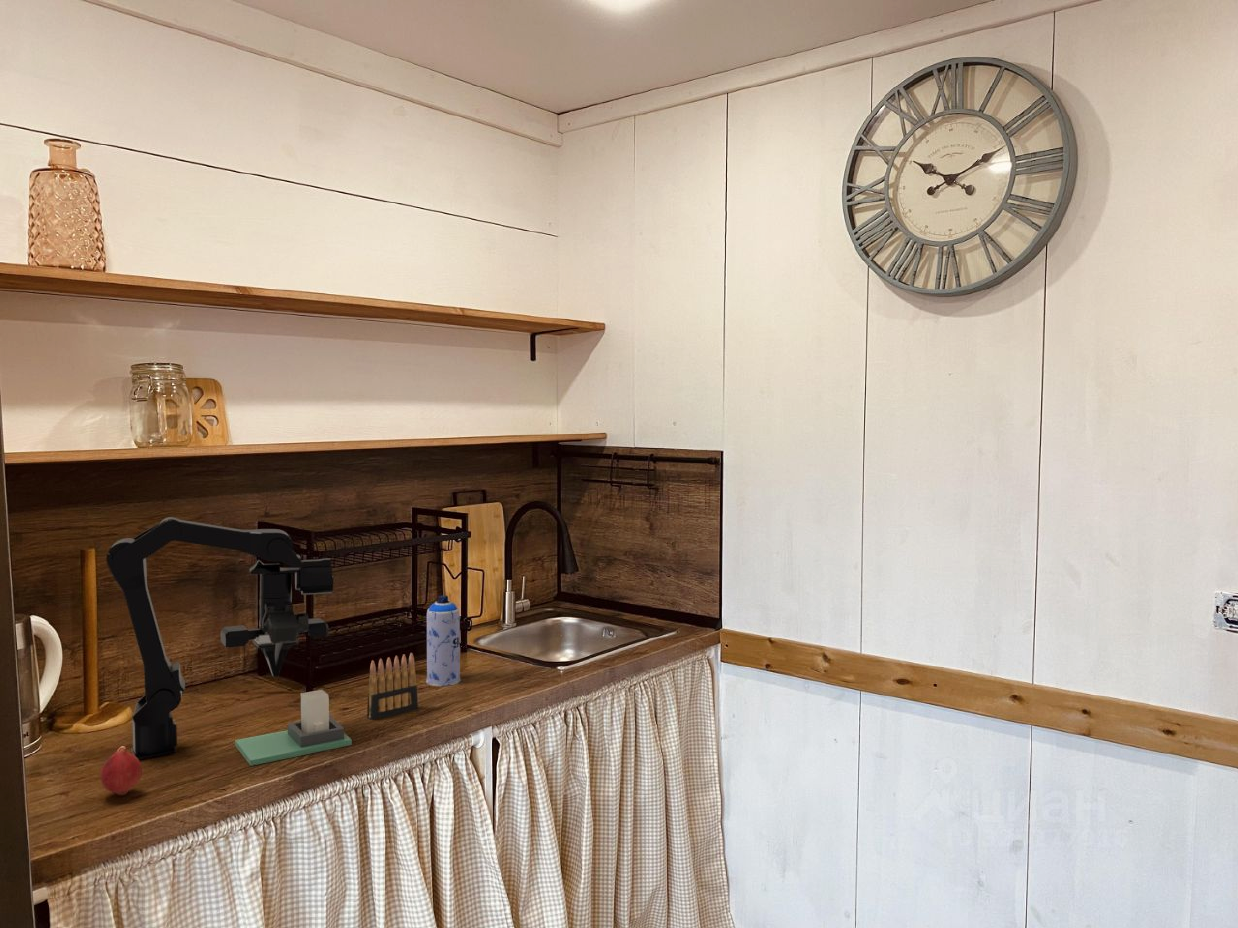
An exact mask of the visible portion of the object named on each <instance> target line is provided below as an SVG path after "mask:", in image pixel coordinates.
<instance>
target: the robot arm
mask: <svg viewBox="0 0 1238 928" xmlns="http://www.w3.org/2000/svg"><path fill="white" fill-rule="evenodd" d="M173 541H175V542H181V543H186V544H188V543H190V544H193V545H194V544H195V545H201V546H208V547H212V548H213V547H214V548H219V549H220V548H221V549H227V550H233V551H234V550H235V551H238V552H239V551H240V552H242V553H245V554H248V555H250V556H253V557H256V558H257V559H258V560H257V561H256V563H255V564H254V565H252V566H251V567H250V568H249V573H250V574H251V575H259V576H260V577H259V578H260V579H259V580H260V581H259V589H260V590H259V602H258V603H259V604H258V605H259V620H258V621H259V623H258V626H259V628H251V629H248V628H247V627H246V626H245V625H243V624H241V625H232V626H224V627H223V628H222V629H221V630H220V642H221V644H222V645H223V646H224V647H225V648H236V647H238V648H239V647H245V646H246V644H248V642H249V640H252V643H253V645H255V646H256V647H257V649H261V651H262V653H263V654H264V657H265V660H266V662H267V665H268V667H269V671H270V673H271V675H272V677H273V678H278V677H279V675H280V673H281V669H282V667H283V664H284V662H285V658H286V657H287V654H288V652H289V650H290V649H291V648H292V647H293V646H294V645H295V646H296V645H298V644H299V640H298V636H299V635H308V636H309V637H311V638H312V639H319V638H320V639H321V638H328V637H329V633H330V631H329V624H328V623H327V622H326V621H324V620H323V619H322V618H320V617H317V618H309V614H308V613H307V612H300V613H299V612H298V613H295V612H294V605H293V604H294V603H293V602H292V601H293V600H292V599H293V574H294V588H295V590H296V591H297V590H298V591H299V592H300V593H301V595H319V594H320V595H321V594H332V593H333V590H334V576H333V569H332V560H331V558H328V557H327V558H326V557H325V558H320V559H303V560H302V558H301V556H300V554H297V553H296V551H294V543H293V540H292V538H291V537H290V535H289V534H288V533H287V532H286V531H284V530H282V529H278V528H277V529H276V528H259V529H258V528H257V529H255V528H254V529H239V528H235V527H228V526H227V527H225V526H220V525H215V524H209V523H203V522H197V521H190V520H184V519H179V518H177V517H175V516H174V517H173V516H169V517H165V518H164V519H163V520H161V521H160V522H159V523H157V524H156V525H154V526H151V528H149V529H146V530H145V531H143V532H141V533H140V534H138V535H137V536H135V537H133V538H131V537H126V538H122V539H118V540H117V541H116V542H114V543H113V544H112V546H111V547H110V548H109V550H108V552H107V554H106V557H105V561H106V565H107V567H108V568H109V571H110V573H111V575H112V576H113V578H114V580H115V582H116V584H117V585H118V587H119V588H120V590H121V591H122V593H123V595H124V598H125V602H126V606H127V609H128V613H129V616H130V621H131V624H132V628H133V631H134V635H135V638H136V643H137V647H138V649H139V652H140V655H141V656H140V657H141V660H142V663H143V671H144V693H145V694H144V695H143V696H142V697H141V698H140V699H139V700H138V701H136V704H135V707H134V710H133V713H132V714H133V715H132V747H131V752H132V754H133V755H135V756H136V757H137V758H138V760H139V761H140V760H143V759H149V758H154V757H155V758H156V757H158V756H164V755H169V754H170V755H171V754H174V753H176V752H177V751H176V750H177V749H176V748H175V747H177V745H178V737H177V735H178V734H177V733H178V731H177V729H178V728H177V727H178V726H177V723H176V722H175V721H174V717H173V715H172V714H171V712H173V711H175V710H176V709H177V708H178V707H179V705H180V704H181V701H182V694H183V692H184V691H185V688H186V680H185V678H184V677H183V675H182V674H181V673H182V671H181V662H180V661H178V662H175V663H173V664H172V663H171V660H170V659H169V658H168V656H167V653H166V650H165V649H166V648H165V645H164V643H163V638H162V635H161V631H160V628H159V624H158V621H157V617H156V613H155V610H154V605H153V603H152V599H151V595H150V592H149V588H148V580H147V579H148V575H147V574H148V571H147V558H148V557H150V556H151V555H152V554H154V553H156V552H158V551H159V550H160V549H161V548H163V547H165V546H166V545H167V544H169V543H171V542H173ZM260 559H261V560H264V561H267V562H271V563H263V562H262V561H261V560H260ZM280 563H283V564H284V565H286V566H288V567H281V566H280Z"/></svg>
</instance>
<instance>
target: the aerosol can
mask: <svg viewBox="0 0 1238 928" xmlns="http://www.w3.org/2000/svg"><path fill="white" fill-rule="evenodd" d="M460 614H461V613H460V608H459V607H458V606H457V605H456V604H455V603H453V602H451V601H450V600H449V596H448V595H447V594H446V595H445V594H444V595H440V596H438V597H437V601H435V602H433V603H432V604H431V605H430V606H429V608H428V609H427V610H426V680H425V681H426V684H427V685H429V686H431V687H448V686H454V685H457V684H459V683H460V682H461V681H462V680H461V677H460V676H461V673H460V671H461V667H460V666H461V660H460V659H461V655H460V654H461V653H460V652H461V650H460V648H461V647H460V645H461V643H460V642H461V640H460V636H461V634H460V632H461V631H460V630H461V629H460V628H461V625H460V621H461V619H460V617H461V615H460Z"/></svg>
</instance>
